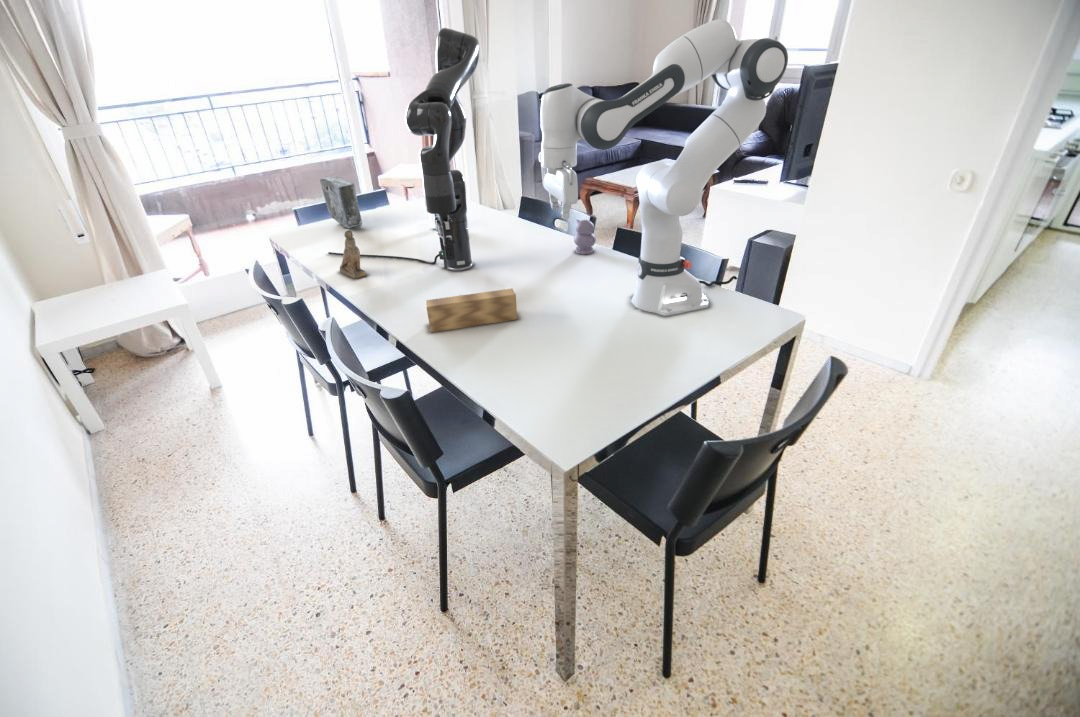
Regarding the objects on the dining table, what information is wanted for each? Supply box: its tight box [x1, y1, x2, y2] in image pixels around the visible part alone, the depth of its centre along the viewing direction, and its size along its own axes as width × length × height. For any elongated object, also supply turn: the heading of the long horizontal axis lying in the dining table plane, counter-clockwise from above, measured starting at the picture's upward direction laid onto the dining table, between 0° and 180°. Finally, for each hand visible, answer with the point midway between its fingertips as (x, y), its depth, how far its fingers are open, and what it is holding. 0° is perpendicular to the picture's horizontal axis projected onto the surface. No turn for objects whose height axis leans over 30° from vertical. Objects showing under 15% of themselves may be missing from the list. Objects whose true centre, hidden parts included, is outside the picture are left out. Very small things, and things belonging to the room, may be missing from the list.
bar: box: [424, 288, 518, 333], centre depth 141 cm, size 25×4×8 cm, turn 105°
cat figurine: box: [573, 218, 597, 255], centre depth 187 cm, size 8×8×12 cm
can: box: [427, 212, 436, 230], centre depth 220 cm, size 7×7×12 cm
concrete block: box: [319, 175, 363, 229], centre depth 226 cm, size 27×9×20 cm, turn 36°
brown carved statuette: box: [339, 229, 367, 280], centre depth 174 cm, size 12×6×18 cm, turn 43°
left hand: (447, 254), depth 132 cm, fingers open, 8 cm apart
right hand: (559, 213), depth 131 cm, fingers open, 8 cm apart
